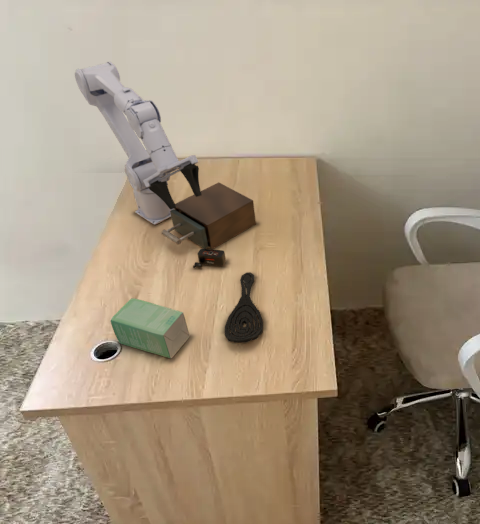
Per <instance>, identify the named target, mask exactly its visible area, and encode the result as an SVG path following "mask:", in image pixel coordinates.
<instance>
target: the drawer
mask: <svg viewBox="0 0 480 524" xmlns="http://www.w3.org/2000/svg"><path fill="white" fill-rule="evenodd" d="M170 213H171V217H170V218H171V221H172V226H171V227H170V228H168V229H162V230H161V235H162V236H164V237H165V238H167V239H169V240H170V241H171V242H173V243H175V244H176V245H181V243H182V242H183V241H184V240H186V239H187V240H190V241H191V242H193V243H194V244H196V245H198V246H199V247H201V249H202V248H204V249H209V247H208V242H209V237H208V232H207V226H205V225H204V224H202V223H200V222H199V221H197V220H195V219H194V218H192V217H190V216H189V215H187V214H185V213H184V212H182V211H180V210H179V212H178V211H176V210H174V209H173V210H171V211H170ZM172 231H175V232H177V233H178V234H180V235H181V236H182V237H180V238H179V237H177V236H176V235H174V234H173V233H172ZM209 243H210V242H209Z"/></svg>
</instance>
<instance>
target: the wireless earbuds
mask: <svg viewBox="0 0 480 524" xmlns="http://www.w3.org/2000/svg"><path fill="white" fill-rule="evenodd" d="M197 259H198V262H197V261H195V262H194V263H193V265H192V268H193V269H196V268H197V269H201V268H203V265H204V266H214V267H223V266H224V265H225V263H226V261H227V259H226V254H225V250H224V249H223V250H222V249H210V248H206V249H204V248H202V247H201V248H200V249H199V250H198V252H197Z"/></svg>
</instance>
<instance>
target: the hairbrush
mask: <svg viewBox="0 0 480 524" xmlns="http://www.w3.org/2000/svg"><path fill="white" fill-rule="evenodd" d="M239 281H240V288H241V290H240V291H241V292H240V298H239V300H238V301H237V304H236V305H234V308H233V309H232V311H231V312H230V313H229V316H228V317H227V320H226V323H225V325H224V337H225V338H226V340H227V342H229V343H235V344H246V343H249V342H252V341H255V340H257V339H259V337H260V336H261V335H263V333H264V332H263V331H264V321H263V320H264V319H263V317H262V314H261V311H260V310H259V308H258V307H257V304H256V302H254V301H253V300H252V297H251V293H252V288H253V286H254V283H255V282H256V281H255V275H254V273H252V272H245V273H244V274H242V275H241V277H240V280H239ZM255 304H256V305H255ZM244 324H245V326H244Z"/></svg>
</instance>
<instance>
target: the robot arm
mask: <svg viewBox="0 0 480 524" xmlns="http://www.w3.org/2000/svg"><path fill="white" fill-rule="evenodd" d="M74 78H75V81H76V84H77V86H78V87H77V88H78V89H79V90H80V92H81V94H82V95H83V98H84V99H85V101H87V103H88V105H90V106H94V107H96V108H97V109H98V111H99V112H100V113H101V115H102V116H103V118H104V120H105V122H107V125H108V127H109V129H111V131H112V133H113V134H114V136H115V138H116V139H117V141H118V143H119V144H120V146H121V148H122V149H123V151H124V152H125V154H126V156H127V158H128V159H127V160H126V162H125V164H124V174H125V176H126V177H127V180H128V183H129V184H130V186H131V188H132V189H133V191H132V193H133V197H134V200H135V204H136V208H137V209H136V210H135V211H134V213H135V214H137V215H138V216H140V217H141V218H143V219H145V220H146V221H147V222H149V223H150V224H152V225H158V224H159V223H160V224H161V222H164V221H166V220H167V219H169V218H171V213H170V211H171V210H173V209H174V208H176V205H175V204H176V203H175V201H174V199H173V197H172V195H171V193H170V189H169V184H168V182H169V181H170V180H171V177H172V176H173V175H176V174H177V173H181V174H182V175H183V176H184V177H183V178H185V179H186V181H187V183H188V185H189V187H190V188H191V189H190V190H191V191H192V194H193V195H195V196H196V197H198V196H201V195H202V194H201V191H202V190H201V186H200V180H199V179H200V178H199V170H200V169H199V165H197V164H198V163H199V159H198V158H197V156H196V154H192V155H189V156H188V157H185V158H183V159H180V160H179V158H178V156H177V154H176V152H175V150H174V148H173V146H172V144H171V142H170V140H169V138H168V136H167V133H166V132H165V129H164V128H163V126H162V124H161V122H162V119H161V118H162V117H161V113H160V111H159V108H158V107H157V105H156V104H155V102H154V101H153V100H151V99H149V100H148V99H146V100H145V99H143V98H142V97H141V96H140V95H139V94H138V93H137V92H136V91H135V90H134V89H132V88H131V87H125V85H124V84H123V83H122V82H121V75H120V73H119V70H118V68H117V66H116V65H115V64H114V63H113V62H112V61H106V62H104V63H99V64H95V65H92V66H88V67H83V68H77V69H75V72H74ZM140 139H141V140H140ZM141 141H142V142H141Z"/></svg>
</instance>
